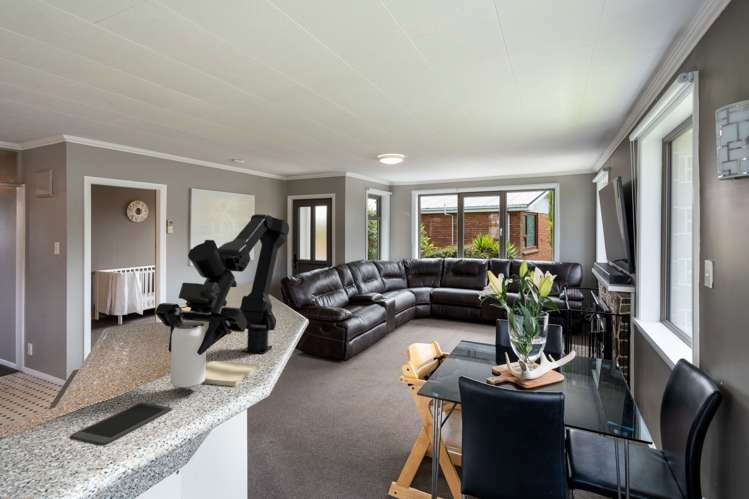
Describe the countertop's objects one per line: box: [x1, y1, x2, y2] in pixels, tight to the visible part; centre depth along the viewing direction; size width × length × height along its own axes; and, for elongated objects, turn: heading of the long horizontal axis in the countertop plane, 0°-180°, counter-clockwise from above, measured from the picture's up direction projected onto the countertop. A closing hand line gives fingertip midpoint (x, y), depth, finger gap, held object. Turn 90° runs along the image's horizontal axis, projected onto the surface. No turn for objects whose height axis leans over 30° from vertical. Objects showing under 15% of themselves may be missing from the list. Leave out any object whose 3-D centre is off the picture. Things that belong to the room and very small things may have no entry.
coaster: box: [202, 360, 260, 387], centre depth 92 cm, size 12×12×1 cm
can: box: [170, 321, 207, 389], centre depth 82 cm, size 6×6×12 cm
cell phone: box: [70, 402, 173, 446], centre depth 68 cm, size 7×14×1 cm, turn 164°
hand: (184, 352), depth 80 cm, fingers closed on can, 6 cm apart
